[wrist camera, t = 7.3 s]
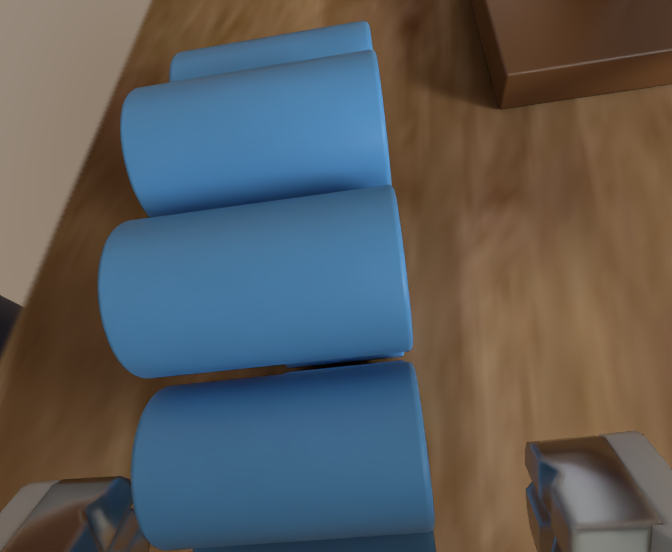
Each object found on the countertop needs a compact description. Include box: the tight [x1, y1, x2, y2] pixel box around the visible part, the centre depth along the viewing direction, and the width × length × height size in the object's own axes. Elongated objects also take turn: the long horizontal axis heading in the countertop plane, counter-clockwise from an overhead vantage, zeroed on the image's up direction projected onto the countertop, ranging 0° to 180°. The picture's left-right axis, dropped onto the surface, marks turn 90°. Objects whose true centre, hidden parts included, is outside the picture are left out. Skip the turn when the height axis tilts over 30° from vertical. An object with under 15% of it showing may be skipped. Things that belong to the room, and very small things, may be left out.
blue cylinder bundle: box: [98, 21, 436, 552], centre depth 9 cm, size 9×3×9 cm, turn 4°
